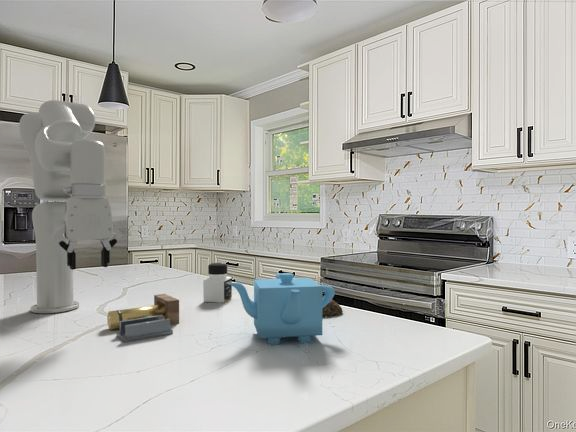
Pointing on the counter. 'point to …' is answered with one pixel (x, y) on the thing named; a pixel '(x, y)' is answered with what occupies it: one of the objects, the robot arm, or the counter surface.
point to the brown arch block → (168, 307)
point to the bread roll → (331, 309)
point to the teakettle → (286, 307)
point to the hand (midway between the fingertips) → (88, 267)
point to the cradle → (143, 328)
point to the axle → (133, 314)
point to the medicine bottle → (217, 284)
